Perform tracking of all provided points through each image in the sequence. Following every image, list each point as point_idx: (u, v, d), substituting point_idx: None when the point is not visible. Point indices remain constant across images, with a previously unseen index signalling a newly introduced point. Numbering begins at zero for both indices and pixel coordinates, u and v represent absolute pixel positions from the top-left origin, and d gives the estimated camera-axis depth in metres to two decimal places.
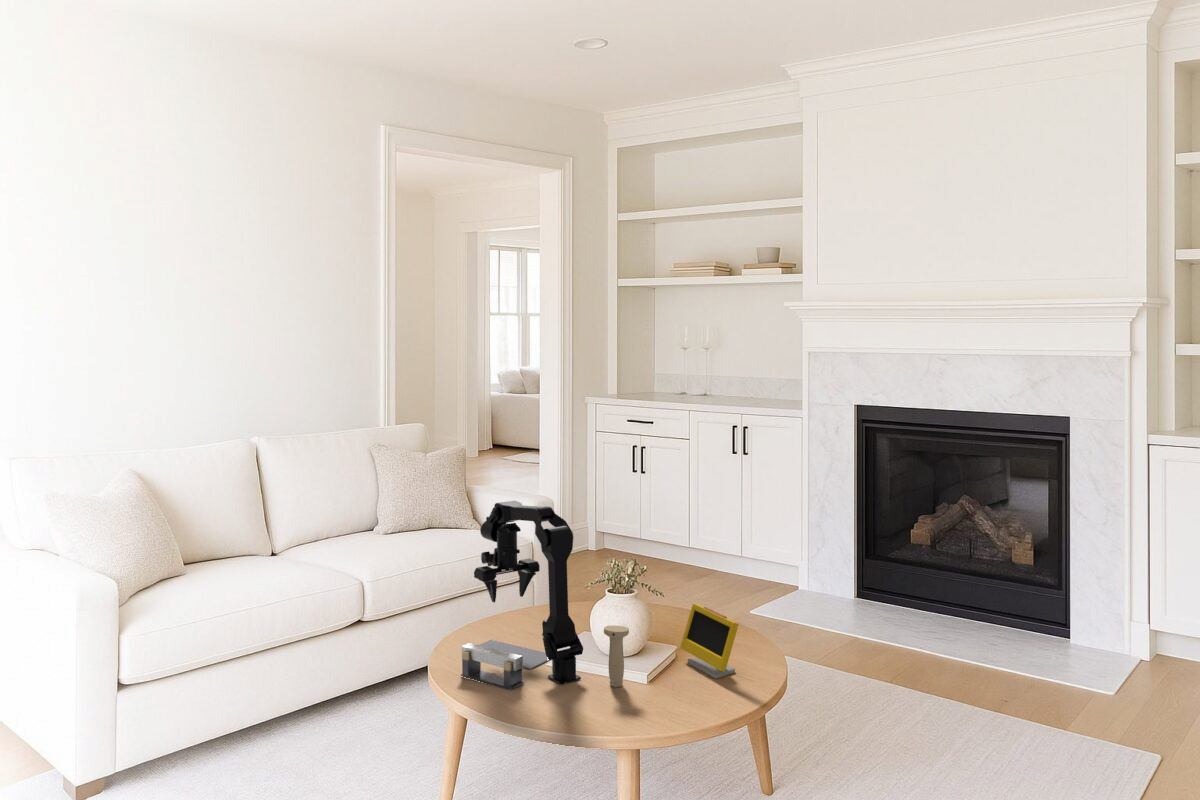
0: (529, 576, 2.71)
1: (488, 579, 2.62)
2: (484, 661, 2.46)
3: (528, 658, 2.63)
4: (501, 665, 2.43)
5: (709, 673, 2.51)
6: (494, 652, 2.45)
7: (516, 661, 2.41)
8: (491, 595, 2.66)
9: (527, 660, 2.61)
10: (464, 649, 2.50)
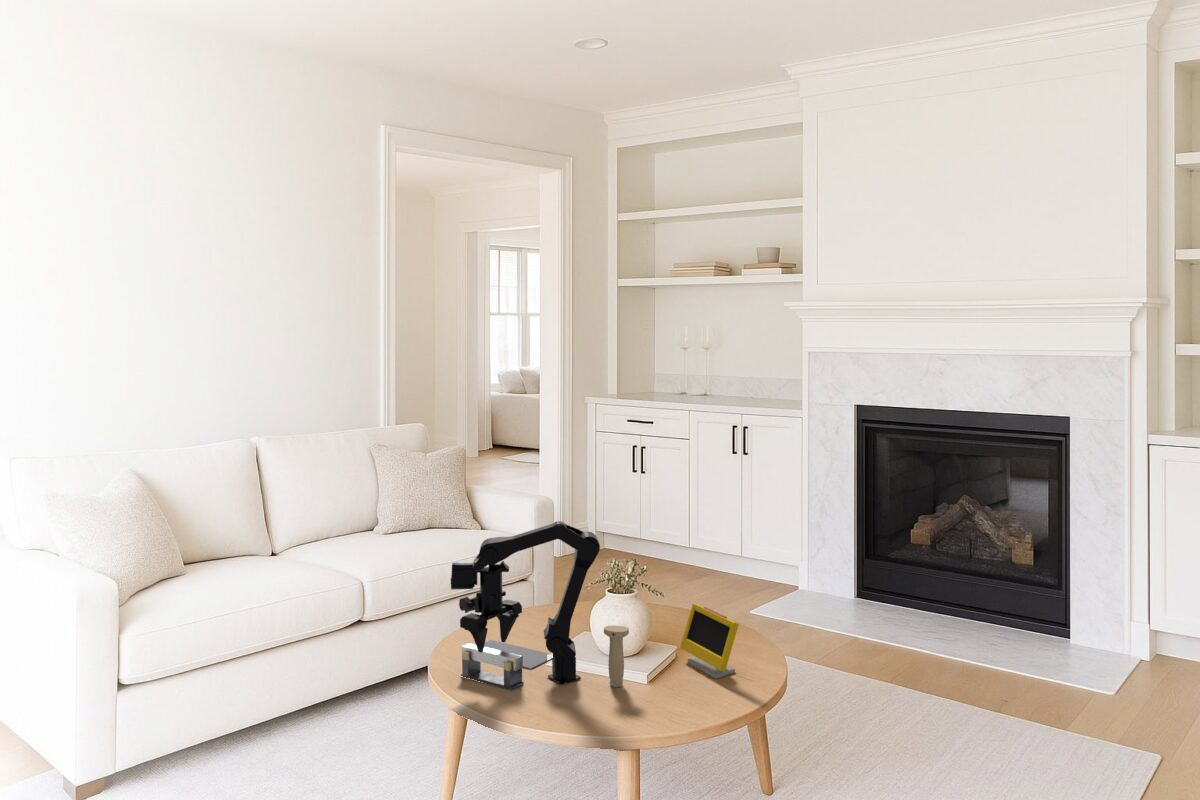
0: (513, 619, 2.49)
1: (480, 628, 2.38)
2: (484, 661, 2.46)
3: (528, 658, 2.63)
4: (501, 665, 2.43)
5: (709, 673, 2.51)
6: (494, 652, 2.45)
7: (516, 661, 2.41)
8: (479, 645, 2.42)
9: (527, 660, 2.61)
10: (464, 649, 2.50)
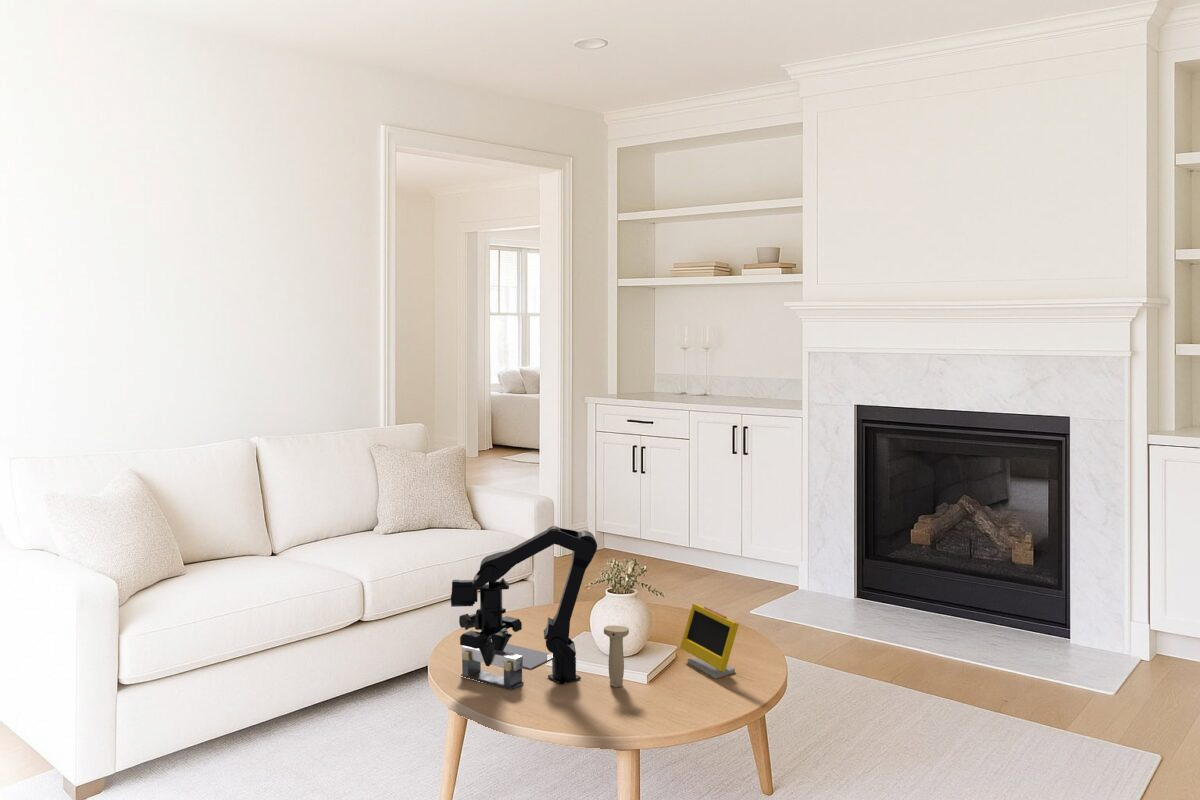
0: (506, 639, 2.47)
1: (480, 645, 2.38)
2: None
3: (528, 658, 2.63)
4: (501, 665, 2.43)
5: (709, 673, 2.51)
6: (494, 652, 2.45)
7: (516, 661, 2.41)
8: (486, 659, 2.44)
9: (527, 660, 2.61)
10: (464, 649, 2.50)
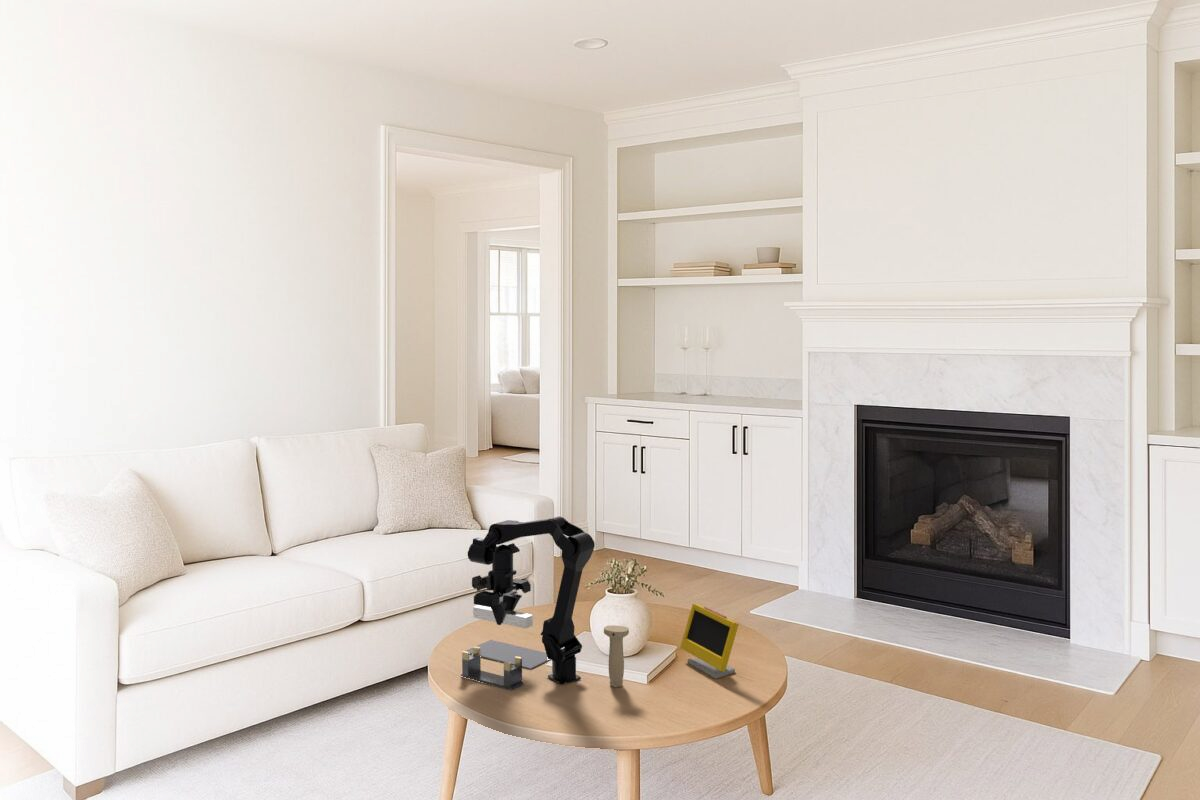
0: (516, 600, 2.60)
1: (493, 604, 2.50)
2: (495, 620, 2.59)
3: (528, 658, 2.63)
4: (512, 624, 2.56)
5: (709, 673, 2.51)
6: (505, 612, 2.58)
7: (526, 619, 2.54)
8: (498, 618, 2.57)
9: (527, 660, 2.61)
10: (475, 609, 2.62)
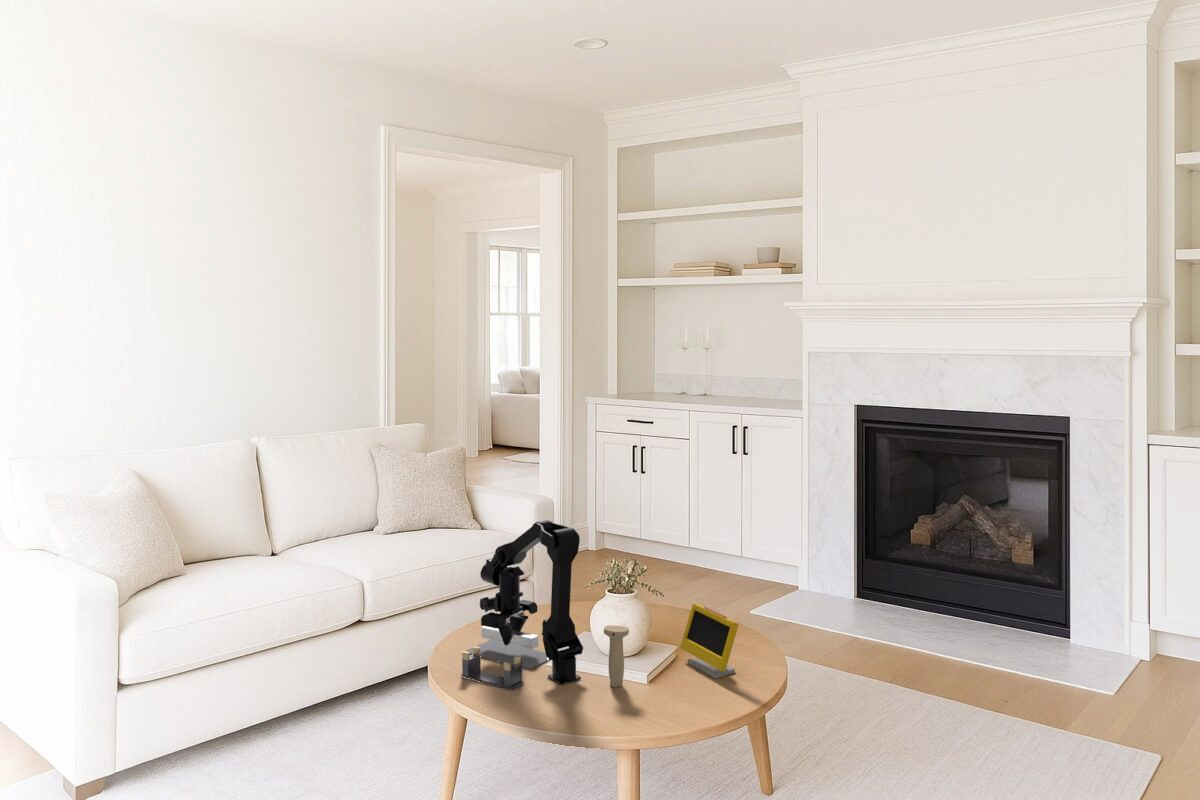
0: (523, 621, 2.67)
1: (500, 626, 2.57)
2: (502, 641, 2.66)
3: (528, 658, 2.63)
4: (518, 644, 2.63)
5: (709, 673, 2.51)
6: (512, 632, 2.65)
7: (532, 640, 2.60)
8: (505, 638, 2.64)
9: (527, 660, 2.61)
10: (484, 630, 2.69)
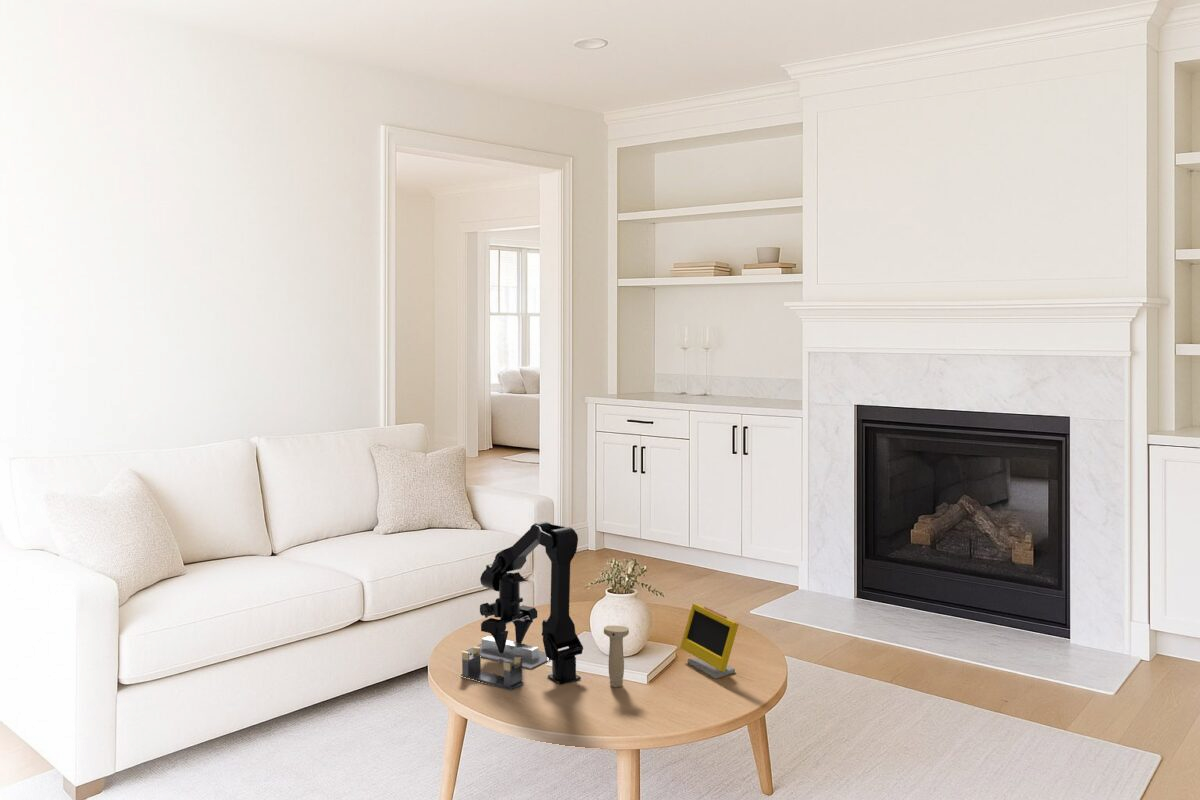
0: (528, 624, 2.69)
1: (500, 631, 2.58)
2: (503, 652, 2.66)
3: None
4: (518, 656, 2.63)
5: (709, 673, 2.51)
6: (512, 644, 2.65)
7: (532, 652, 2.61)
8: (500, 646, 2.62)
9: (527, 660, 2.61)
10: (484, 641, 2.70)
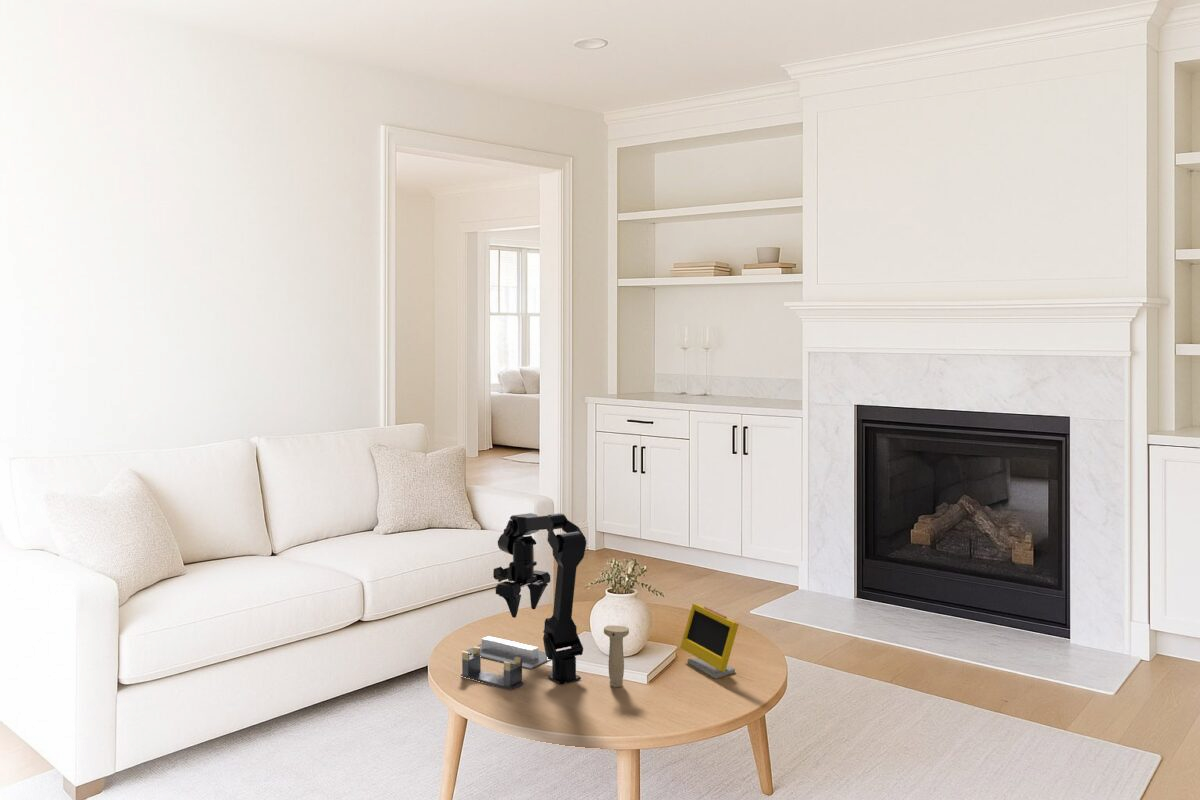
0: (543, 588, 2.69)
1: (515, 594, 2.57)
2: (503, 652, 2.66)
3: None
4: (518, 656, 2.63)
5: (709, 673, 2.51)
6: (512, 644, 2.65)
7: (532, 652, 2.61)
8: (512, 610, 2.61)
9: (527, 660, 2.61)
10: (484, 641, 2.70)
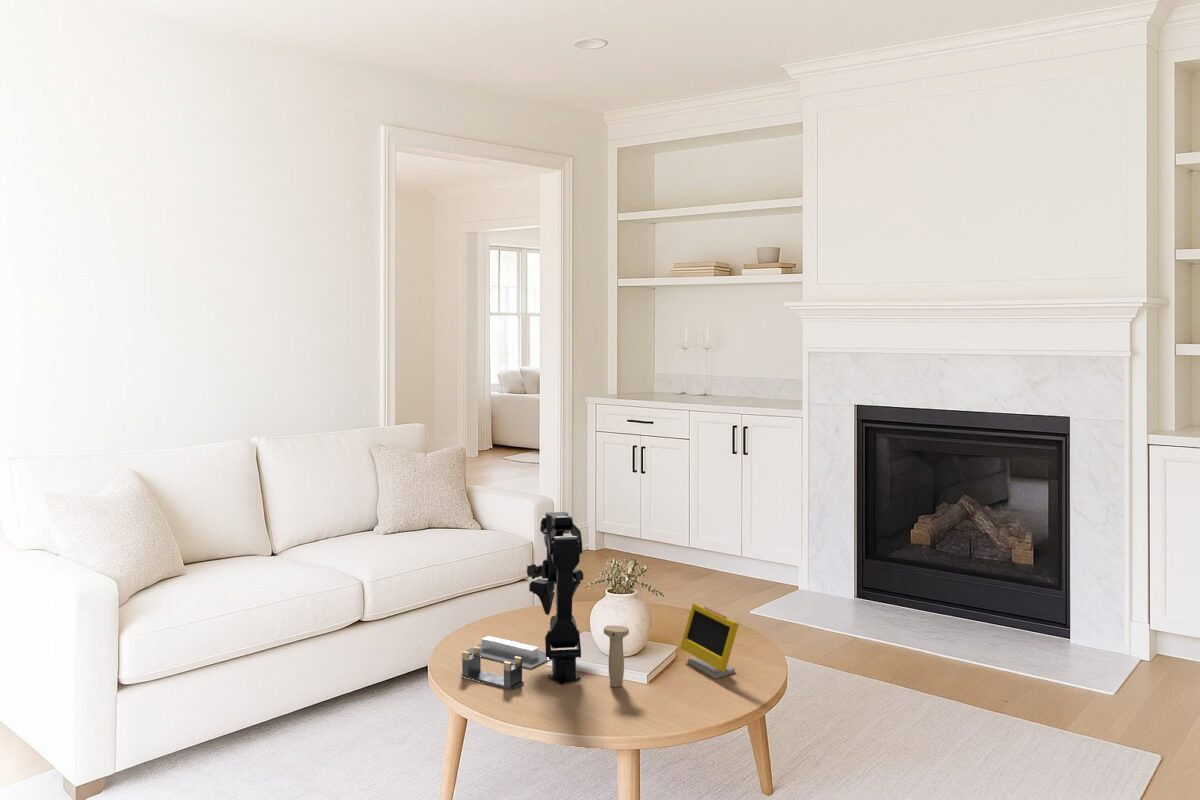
0: (576, 585, 2.71)
1: (548, 592, 2.59)
2: (503, 652, 2.66)
3: None
4: (518, 656, 2.63)
5: (709, 673, 2.51)
6: (512, 644, 2.65)
7: (532, 652, 2.61)
8: (546, 608, 2.63)
9: (527, 660, 2.61)
10: (484, 641, 2.70)
